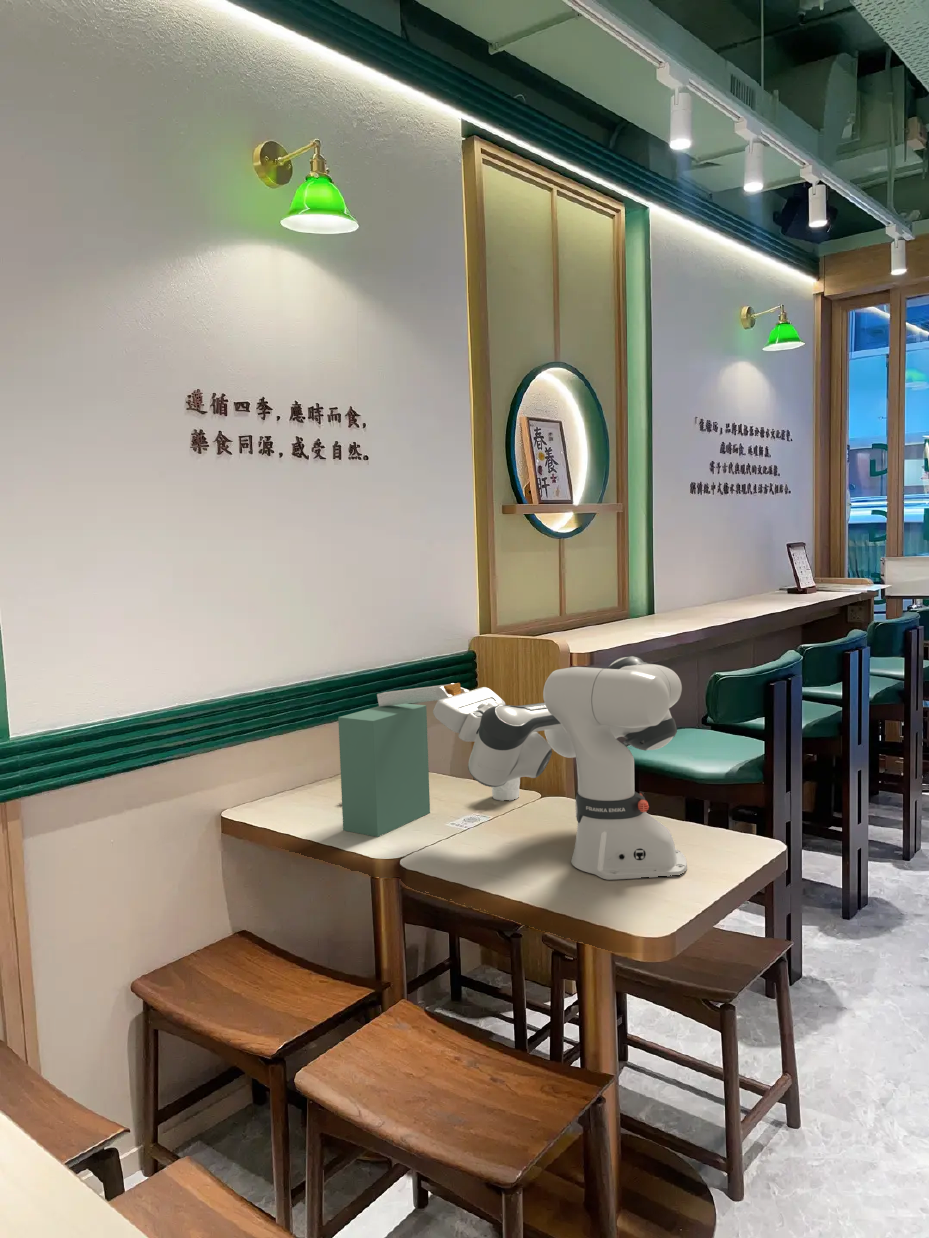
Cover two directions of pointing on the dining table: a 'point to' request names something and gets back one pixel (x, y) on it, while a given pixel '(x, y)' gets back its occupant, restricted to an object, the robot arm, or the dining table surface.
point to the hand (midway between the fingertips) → (443, 687)
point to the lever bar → (415, 695)
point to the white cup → (507, 790)
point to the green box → (384, 768)
